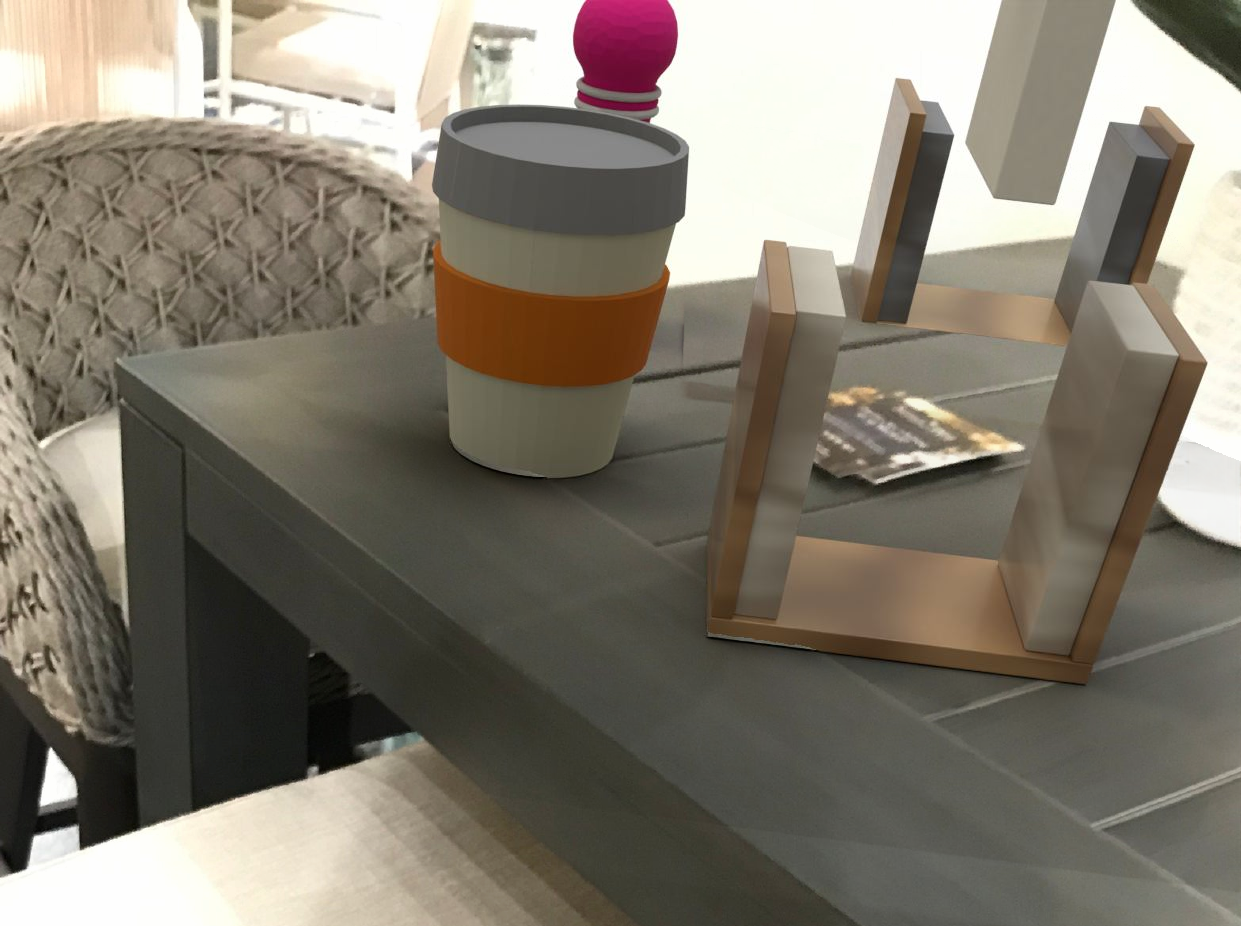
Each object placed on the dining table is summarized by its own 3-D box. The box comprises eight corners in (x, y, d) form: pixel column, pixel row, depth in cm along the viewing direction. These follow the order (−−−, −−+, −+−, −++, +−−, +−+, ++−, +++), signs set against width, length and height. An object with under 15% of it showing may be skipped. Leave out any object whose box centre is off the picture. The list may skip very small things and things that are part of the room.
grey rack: (1091, 318, 113) (1160, 107, 104) (1119, 367, 105) (1195, 144, 96) (847, 290, 113) (895, 77, 105) (857, 336, 106) (910, 112, 97)
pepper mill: (664, 325, 104) (722, -45, 91) (611, 353, 100) (665, -33, 86) (567, 298, 107) (610, -66, 94) (511, 324, 102) (548, -55, 89)
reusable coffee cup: (677, 434, 91) (728, 134, 81) (597, 512, 82) (644, 186, 72) (473, 385, 94) (498, 90, 84) (376, 455, 85) (390, 135, 75)
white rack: (1050, 586, 79) (1155, 284, 70) (1086, 685, 72) (1208, 362, 63) (706, 543, 80) (764, 238, 71) (706, 637, 73) (771, 310, 63)
